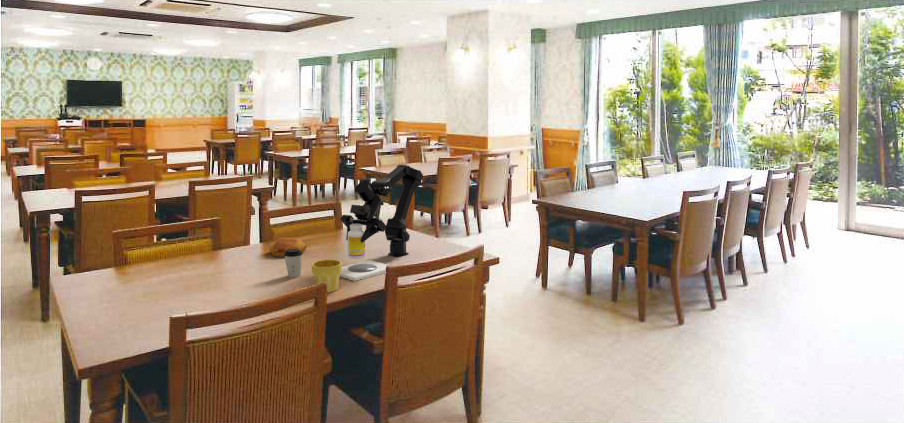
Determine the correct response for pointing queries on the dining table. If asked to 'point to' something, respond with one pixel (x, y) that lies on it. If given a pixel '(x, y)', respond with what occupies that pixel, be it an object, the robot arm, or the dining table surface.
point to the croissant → (286, 246)
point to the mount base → (362, 270)
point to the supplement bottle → (356, 242)
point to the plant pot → (327, 272)
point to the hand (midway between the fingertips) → (354, 241)
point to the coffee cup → (293, 262)
